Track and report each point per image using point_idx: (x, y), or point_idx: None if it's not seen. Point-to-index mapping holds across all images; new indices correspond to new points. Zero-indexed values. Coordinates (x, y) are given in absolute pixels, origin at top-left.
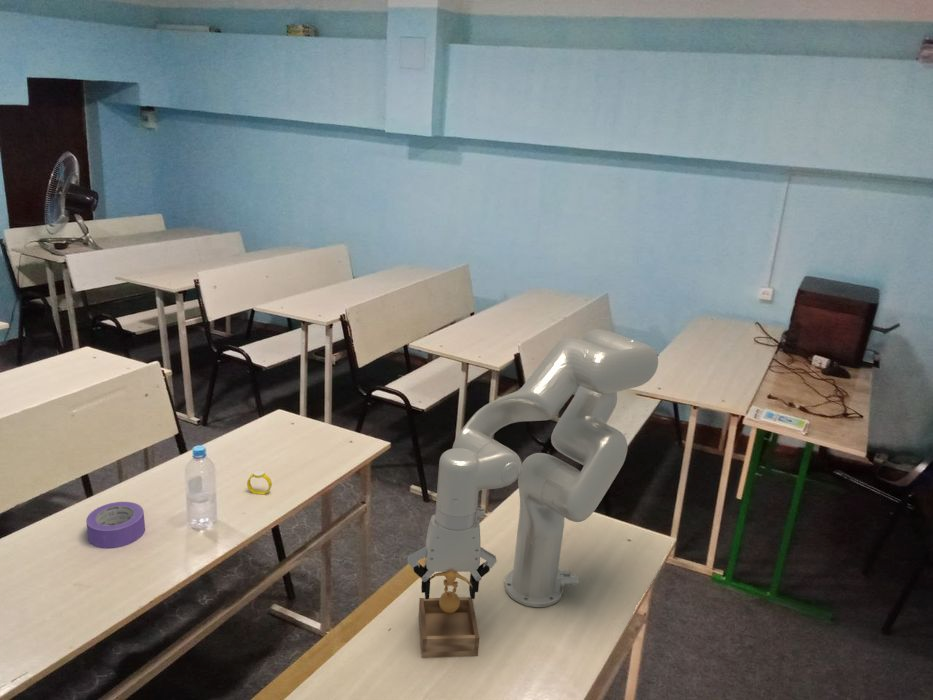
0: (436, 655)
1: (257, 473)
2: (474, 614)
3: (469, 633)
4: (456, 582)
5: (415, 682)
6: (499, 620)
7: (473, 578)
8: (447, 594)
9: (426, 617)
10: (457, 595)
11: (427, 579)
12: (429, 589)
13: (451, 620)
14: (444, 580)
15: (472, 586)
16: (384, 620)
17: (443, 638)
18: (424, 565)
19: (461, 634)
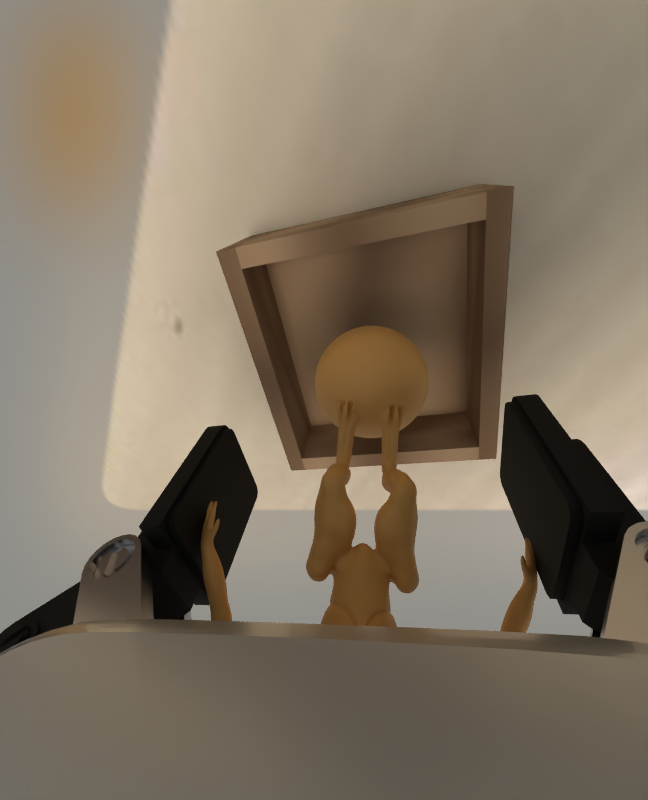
0: None
1: None
2: (500, 337)
3: (459, 349)
4: (407, 592)
5: (305, 489)
6: (627, 205)
7: (576, 602)
8: (352, 442)
9: (283, 280)
10: (416, 385)
11: (188, 619)
12: (236, 548)
13: (387, 285)
14: (311, 576)
15: (538, 565)
16: (143, 286)
17: (359, 465)
18: (80, 620)
19: (427, 357)
